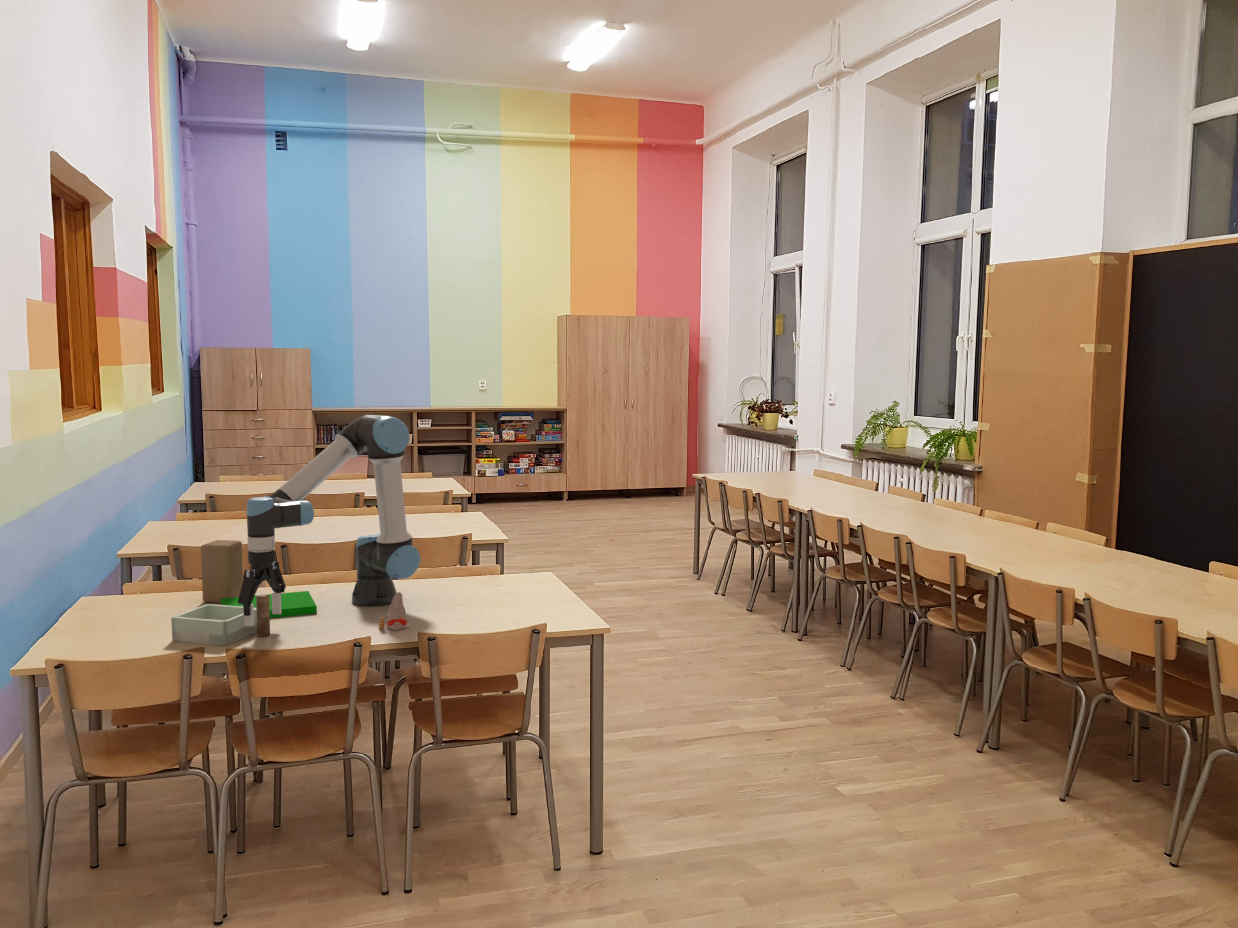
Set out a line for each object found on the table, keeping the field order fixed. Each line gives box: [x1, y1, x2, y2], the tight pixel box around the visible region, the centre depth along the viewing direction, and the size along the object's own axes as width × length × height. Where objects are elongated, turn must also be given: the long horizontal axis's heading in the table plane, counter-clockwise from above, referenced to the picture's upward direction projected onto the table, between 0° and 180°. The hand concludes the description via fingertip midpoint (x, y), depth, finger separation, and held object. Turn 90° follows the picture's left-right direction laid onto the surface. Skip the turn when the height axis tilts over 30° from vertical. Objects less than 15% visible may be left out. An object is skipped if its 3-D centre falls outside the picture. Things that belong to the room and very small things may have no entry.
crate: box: [170, 603, 257, 647], centre depth 272 cm, size 18×16×7 cm
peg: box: [256, 594, 271, 638], centre depth 273 cm, size 4×4×12 cm
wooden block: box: [200, 539, 244, 604], centre depth 313 cm, size 10×10×20 cm
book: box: [220, 590, 318, 619], centre depth 302 cm, size 22×28×3 cm
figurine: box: [378, 591, 410, 631], centre depth 282 cm, size 9×7×12 cm
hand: (263, 619), depth 273 cm, fingers open, 13 cm apart
